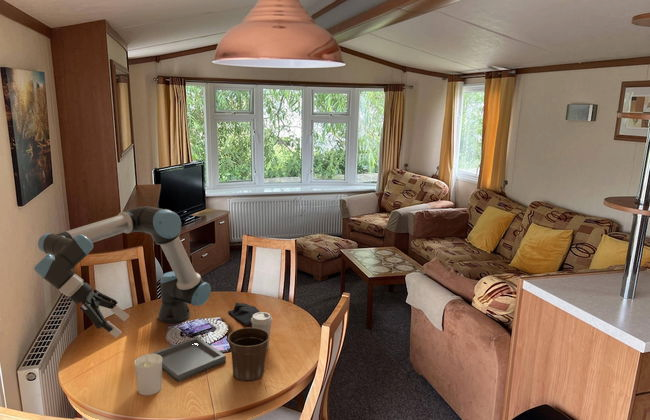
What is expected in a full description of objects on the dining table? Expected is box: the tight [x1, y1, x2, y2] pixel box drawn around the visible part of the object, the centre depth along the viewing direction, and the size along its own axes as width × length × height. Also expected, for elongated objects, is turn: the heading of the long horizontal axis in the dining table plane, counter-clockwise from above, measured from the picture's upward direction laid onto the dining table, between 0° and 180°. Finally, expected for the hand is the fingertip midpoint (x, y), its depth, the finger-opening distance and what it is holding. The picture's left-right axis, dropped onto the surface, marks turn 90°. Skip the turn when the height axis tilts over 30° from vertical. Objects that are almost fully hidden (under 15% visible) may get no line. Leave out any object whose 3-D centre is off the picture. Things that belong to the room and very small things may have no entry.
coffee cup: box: [251, 311, 274, 350], centre depth 213 cm, size 10×10×15 cm
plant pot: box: [227, 327, 270, 381], centre depth 192 cm, size 16×16×16 cm
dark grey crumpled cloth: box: [227, 302, 261, 326], centre depth 244 cm, size 15×22×5 cm
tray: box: [150, 336, 227, 383], centre depth 200 cm, size 22×22×3 cm
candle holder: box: [133, 353, 163, 397], centre depth 179 cm, size 10×10×12 cm
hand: (123, 326), depth 177 cm, fingers open, 13 cm apart
